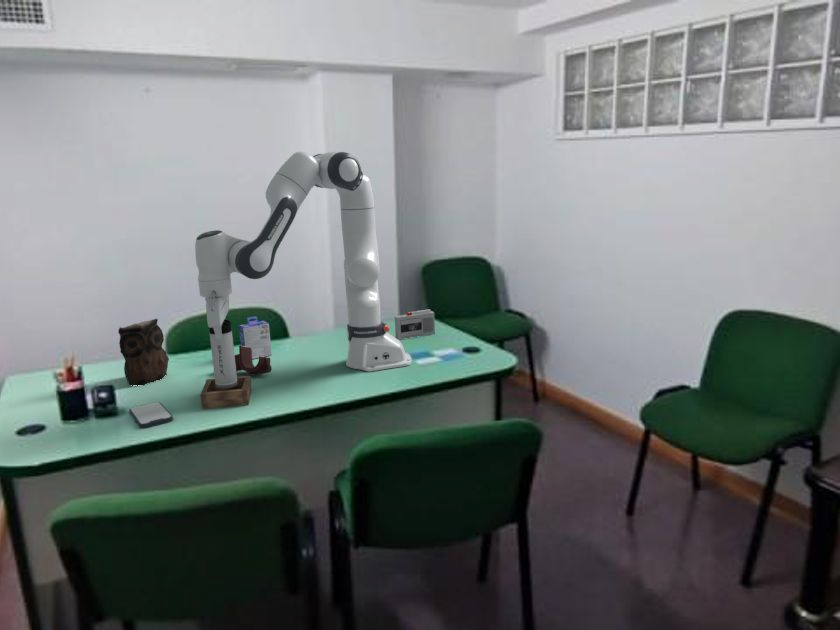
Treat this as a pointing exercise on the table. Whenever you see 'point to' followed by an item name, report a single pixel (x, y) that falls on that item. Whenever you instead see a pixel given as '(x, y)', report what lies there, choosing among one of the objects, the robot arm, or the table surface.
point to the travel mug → (223, 357)
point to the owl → (143, 352)
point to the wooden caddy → (226, 394)
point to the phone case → (150, 415)
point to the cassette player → (415, 324)
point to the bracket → (246, 364)
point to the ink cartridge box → (256, 337)
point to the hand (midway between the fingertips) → (220, 334)
